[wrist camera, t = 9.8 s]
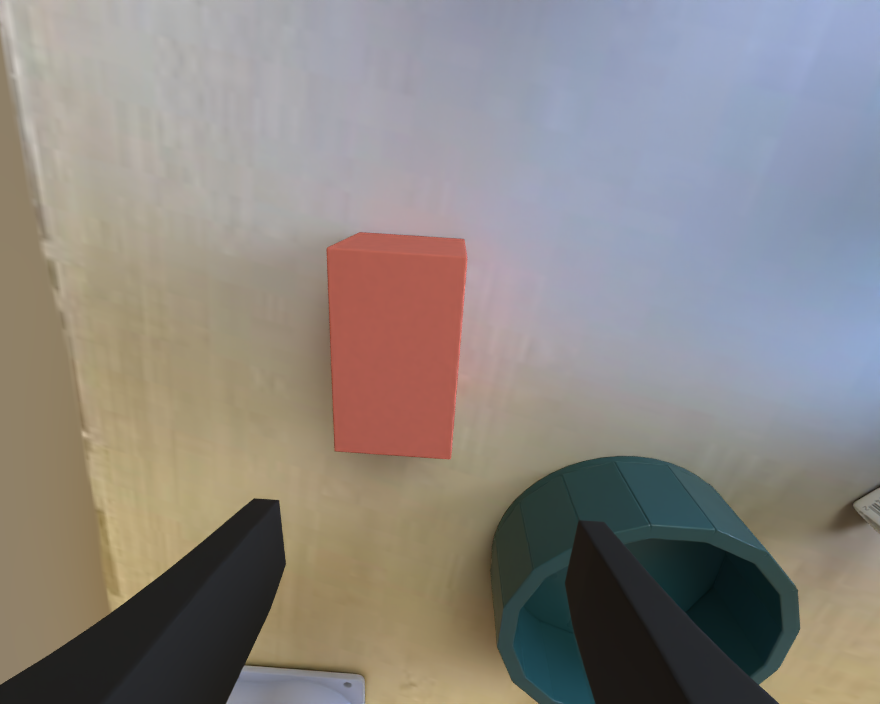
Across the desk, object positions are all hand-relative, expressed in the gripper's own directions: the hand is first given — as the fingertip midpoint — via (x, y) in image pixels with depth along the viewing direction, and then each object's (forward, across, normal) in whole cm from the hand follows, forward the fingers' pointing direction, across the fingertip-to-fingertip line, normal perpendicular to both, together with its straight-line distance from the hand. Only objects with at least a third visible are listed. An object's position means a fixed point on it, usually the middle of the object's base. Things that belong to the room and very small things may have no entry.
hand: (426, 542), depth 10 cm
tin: (+9, -10, +10) cm, 16 cm away
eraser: (+9, +2, -3) cm, 10 cm away
